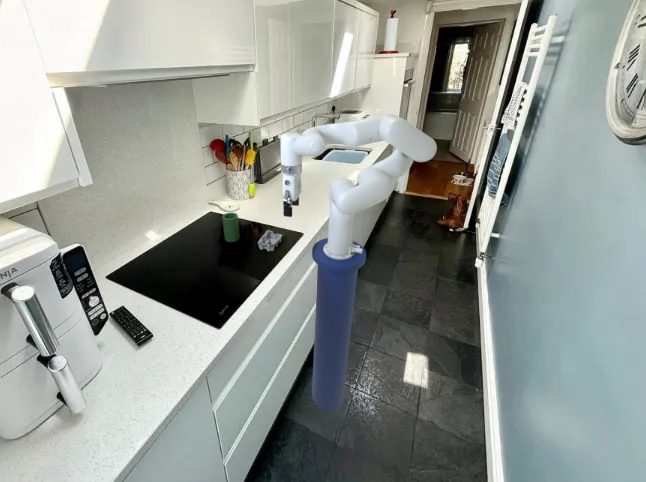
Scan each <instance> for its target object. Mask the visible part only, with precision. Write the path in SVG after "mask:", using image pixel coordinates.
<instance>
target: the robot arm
mask: <svg viewBox="0 0 646 482" xmlns="http://www.w3.org/2000/svg"><path fill="white" fill-rule="evenodd" d="M383 141H384V142H387V144H390V145H391V146H392V147H393V148H394V150H393V152H392V153H391V154H390V155H389V156H387V157H385V158H383V159H382V160H380V161H378V162H376V163H373V164H372V165H369V166H367V167H365V168H363V169H362V170H360V171H359V172H358V174H357V177H356V181H357V184H358V185H356V184H355V183H354V182H353V181H352V180H351V179H350V178H346V177H338V178H337V179H334V180H333V181H332V183H331V184H330V185H329V189H328V190H329V191H328V200H329V201H328V202H329V213H328V229H327V230H328V231H327V238H328V243H327V244H325V246H324V248H323V251H324V253H325V254H326V255H327V256H328V257H330V258H332V259H336V260H346V259H349V258H351V257H353V256H354V253H355V252H357V253H361V254H362V249H361V248H360V246H359V245H354V244H353V241H354V240H353V232H354V221H355V214H359V213H360V212H362V211H365V210H368V209H369V208H371V207H373V206H376V205H377V204H381V203H382V202H383V201H385V200H387V198H389V196H391V194H392V192H393V190H394V189H393V188H394V184H393V182H394V181H396V180H398V179H399V178H401V177H402V176H404V175H405V174H406V173H407V172H408V171H409V170H410V168H411V167H412V165H413V163H414V161H415V162H417V163H425V162H426V163H427V162H428V161H430V160H432V159H433V158H434V157H435V155H436V153H437V150H438V146H437V142H436V141H435V140H434V138H432V137H431V136H429V135H428V134H426V133H425V132H424V131H422V130H421V129H419V128H418V127H416V126H414V125H413V124H411V123H410V122H409V121H408V120H406V119H405V118H402V117H400V116H398V115H396V114H392V113H387V114H382V115H376V116H372V117H367V118H362V119H358V120H353V121H345V122H344V121H343V122H336V123H335V122H334V123H328V124H322V125H318V126H317V125H316V126H313V127H310V128H307V129H306V130H304V131H303V132H302V134H300V133H298V132H285V133H283V134H282V135H280V142H279V143H280V173H281V174H282V202H283V204H282V208H283V209H282V210H283V217H288V218H292V217H293V206H294V207H299V205H300V196H301V194H302V172H303V156H305V157H318V156H321V155H322V154H323V153H325V151H326V148H327V145H328V146H329V145H344V146H348V147H359V146H364V145H369V144H374V143H378V142H383Z"/></svg>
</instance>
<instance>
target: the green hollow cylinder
mask: <svg viewBox="0 0 646 482" xmlns="http://www.w3.org/2000/svg"><path fill="white" fill-rule="evenodd" d="M221 218H222V227H223V235H224V240H225V242H226V243H227V242H228V243H236V242H238V241H239V240H240V237H241V235H240V224H239V215H238V213H237V212H226V213H223V215H222V217H221Z"/></svg>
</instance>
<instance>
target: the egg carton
mask: <svg viewBox="0 0 646 482" xmlns="http://www.w3.org/2000/svg"><path fill="white" fill-rule="evenodd" d="M282 236H283V234H281V233H278V232H276V233H274V231H272V230H270V229H267V230H265V232H264V234H263V235H262V236H261V237H260V239H259V240H258V241H257V245H258V248H259V250H267V252H273V251H275V247H276V248H277V247H278V245H279V243H282Z"/></svg>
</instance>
